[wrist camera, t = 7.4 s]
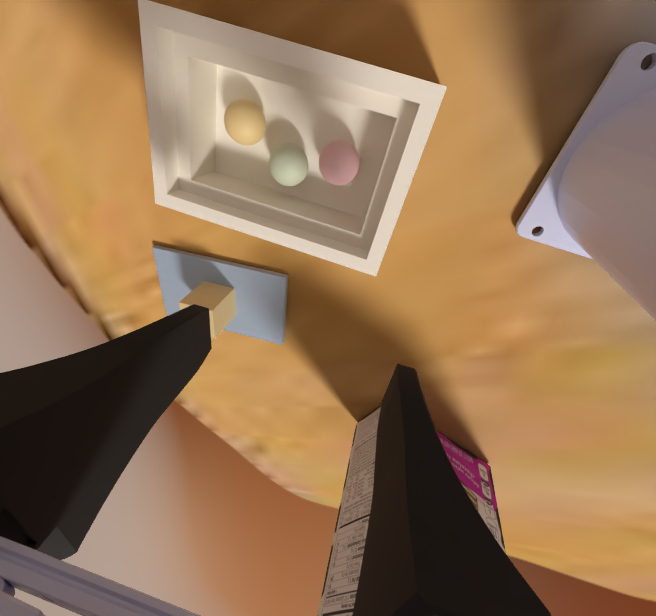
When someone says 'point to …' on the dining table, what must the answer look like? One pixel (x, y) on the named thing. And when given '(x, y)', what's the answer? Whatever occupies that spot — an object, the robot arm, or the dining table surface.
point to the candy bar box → (358, 505)
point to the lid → (224, 293)
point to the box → (280, 135)
